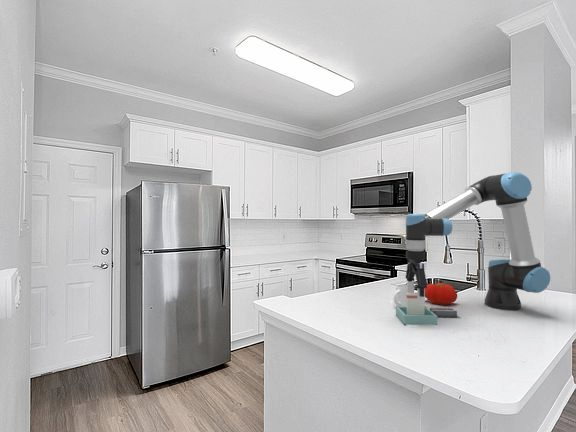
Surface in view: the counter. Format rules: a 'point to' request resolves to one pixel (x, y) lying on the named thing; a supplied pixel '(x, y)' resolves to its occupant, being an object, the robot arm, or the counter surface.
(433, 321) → the tray
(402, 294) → the mug
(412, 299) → the cream red-striped panel
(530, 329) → the counter surface
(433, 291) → the tomato
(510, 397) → the counter surface
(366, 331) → the counter surface
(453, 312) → the metal rectangular holder
